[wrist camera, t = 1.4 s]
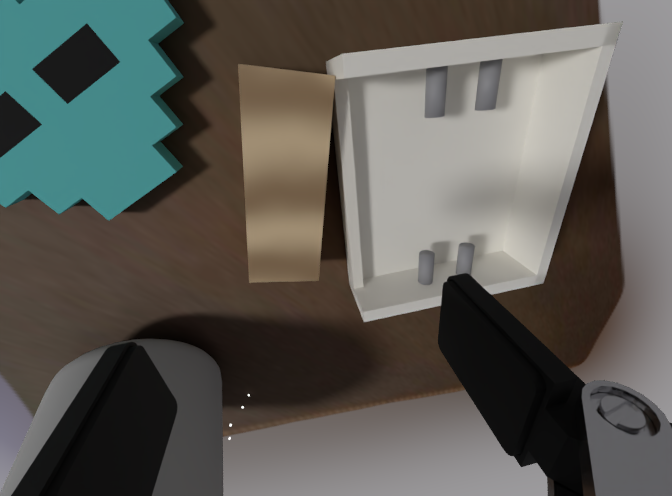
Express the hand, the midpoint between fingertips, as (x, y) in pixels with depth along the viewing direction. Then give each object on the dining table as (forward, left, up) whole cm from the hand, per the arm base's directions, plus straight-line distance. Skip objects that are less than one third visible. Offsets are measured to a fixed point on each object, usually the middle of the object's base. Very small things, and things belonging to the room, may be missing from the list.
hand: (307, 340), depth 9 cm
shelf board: (0, 0, -19) cm, 19 cm away
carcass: (+2, +13, -18) cm, 23 cm away
